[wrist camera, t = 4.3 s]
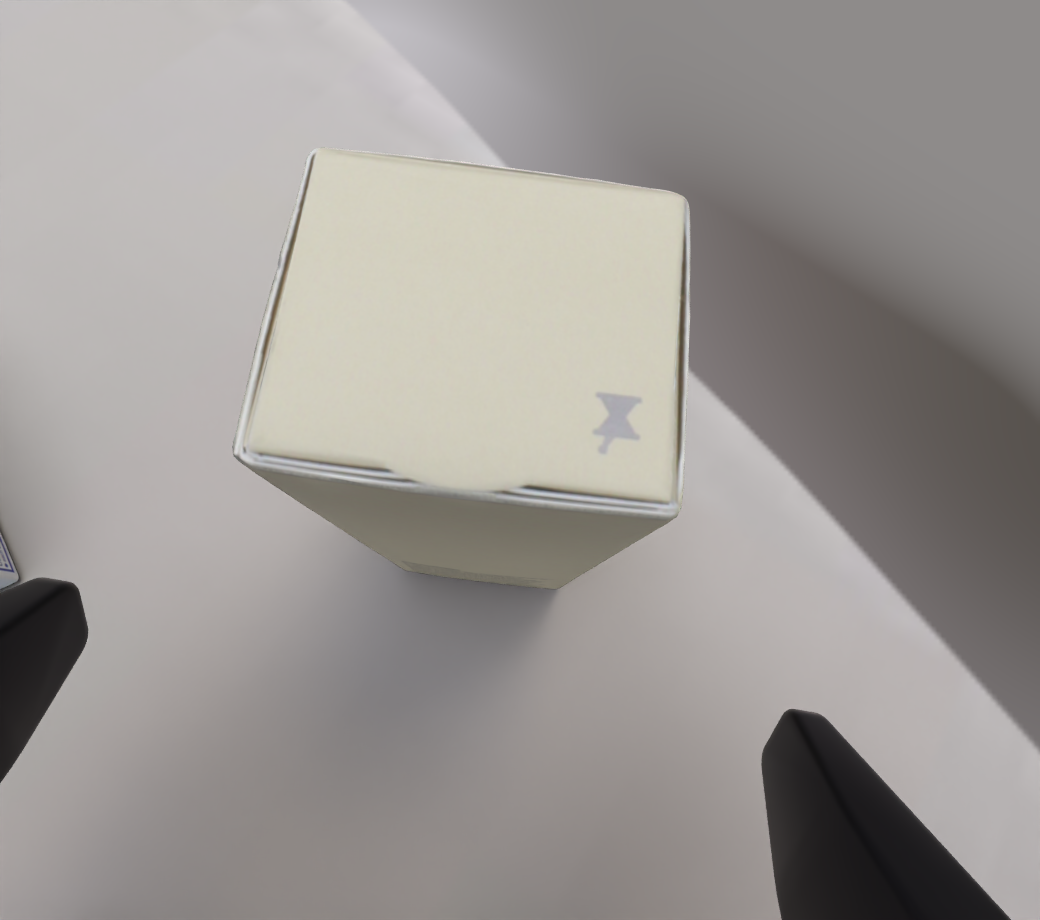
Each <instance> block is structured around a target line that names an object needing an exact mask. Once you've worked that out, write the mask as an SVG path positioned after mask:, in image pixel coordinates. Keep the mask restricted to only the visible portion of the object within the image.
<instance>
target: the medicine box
mask: <svg viewBox="0 0 1040 920" xmlns="http://www.w3.org/2000/svg"><path fill="white" fill-rule="evenodd" d="M17 580H18V573H17V571H16V569H15V566H14V564H13V561H12V559H11V557H10V554H9V552H8V549H7V547H6V544H5V542H4V540H3V537H2V535H1V532H0V589H2V588H4V587H6V586H8V585H10V584H12V583H14V582H16V581H17Z"/></svg>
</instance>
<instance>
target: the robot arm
mask: <svg viewBox="0 0 1040 920" xmlns="http://www.w3.org/2000/svg"><path fill="white" fill-rule="evenodd" d="M87 638H88V626H87V622H86V617H85V613H84V609H83V605H82V600H81V596H80V592H79V589H78V588H77V587H76V585H75V584H74V583H71V582H67V581H62V580H56V579H50V578H36V579H33V580H30V581H27V582H25V583H23V584H20V585H18V586H16V587H13V588H11V589H9V590H6V591H4V592H2V593H0V783H1V781H2V780H3V779H4V777H5V776H6V774H7V773H8V772H9V770H10V769H11V767H12V766H13V764H14V763H15V761H16V760H17V758H18V757H19V755H20V753H21V752H22V750H23V749H24V747H25V746H26V744H27V742H28V741H29V739H30V737H31V736H32V734H33V732H34V731H35V729H36V727H37V726H38V724H39V722H40V721H41V719H42V717H43V716H44V714H45V713H46V711H47V709H48V708H49V706H50V704H51V703H52V701H53V699H54V698H55V696H56V694H57V693H58V691H59V689H60V688H61V686H62V684H63V683H64V681H65V679H66V678H67V676H68V674H69V673H70V671H71V669H72V668H73V666H74V664H75V663H76V661H77V659H78V658H79V656H80V654H81V653H82V651H83V649H84V647H85V644H86V642H87ZM762 775H763V784H764V792H765V801H766V809H767V818H768V827H769V835H770V844H771V853H772V861H773V870H774V877H775V884H776V891H777V897H778V903H779V908H780V913H781V918H782V920H1011V919H1010V918H1009V917H1008V916H1007V915H1006V914H1005V913H1004V911H1003V910H1002V909H1001V908H1000V907H999V906H998V905H997V904H996V903H995V902H994V901H993V900H992V898H991V897H990V896H989V895H988V894H987V893H986V892H985V891H984V890H983V889H982V888H981V886H980V885H979V884H978V883H977V882H976V881H975V880H974V879H973V878H972V877H971V876H970V874H969V873H968V872H967V871H966V870H965V869H964V868H963V867H962V866H961V865H960V864H959V863H958V861H957V860H956V859H955V858H954V857H953V856H952V855H951V854H950V853H949V852H948V851H947V849H946V848H945V847H944V846H943V845H942V844H941V843H940V842H939V841H938V840H937V839H936V837H935V836H934V835H933V834H932V833H931V832H930V831H929V830H928V829H927V828H926V827H925V826H924V824H923V823H922V822H921V821H920V820H919V819H918V818H917V817H916V816H915V815H914V814H913V812H912V811H911V810H910V809H909V808H908V807H907V806H906V805H905V804H904V803H903V802H902V801H901V799H900V798H899V797H898V796H897V795H896V794H895V793H894V792H893V791H892V790H891V789H890V787H889V786H888V785H887V784H886V783H885V782H884V781H883V780H882V779H881V778H880V777H879V775H878V774H877V773H876V772H875V771H874V770H873V769H872V768H871V767H870V766H869V765H868V764H867V762H866V761H865V760H864V759H863V758H862V757H861V756H860V755H859V754H858V753H857V752H856V750H855V749H854V748H853V747H852V746H851V745H850V744H849V743H848V742H847V741H846V740H845V739H844V737H843V736H842V735H841V734H840V733H839V732H838V731H837V730H836V729H835V728H834V727H833V725H832V724H831V723H830V722H829V721H828V720H827V719H826V718H825V717H823V716H822V715H820V714H818V713H814V712H808V711H802V710H796V709H789V710H787V711H786V712H784V714H783V715H782V717H781V719H780V720H779V722H778V724H777V726H776V727H775V729H774V731H773V733H772V734H771V736H770V738H769V740H768V742H767V743H766V745H765V747H764V750H763V753H762Z"/></svg>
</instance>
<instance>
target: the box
mask: <svg viewBox="0 0 1040 920" xmlns="http://www.w3.org/2000/svg"><path fill="white" fill-rule="evenodd" d="M689 211H690V210H689V205H688V202H687V200H686V199H685V198H684V197H683V196H682V195H679V194H677V193H674V192H670V191H666V190H659V189H651V188H644V187H637V186H631V185H624V184H618V183H613V182H607V181H601V180H595V179H586V178H577V177H571V176H565V175H558V174H550V173H542V172H535V171H527V170H520V169H513V168H506V167H498V166H491V165H484V164H476V163H469V162H461V161H452V160H439V159H432V158H426V157H419V156H408V155H396V154H386V153H376V152H365V151H355V150H345V149H336V148H323V147H322V148H318V149H315V150H312V151H311V153H310V154H309V155H308V157H307V160H306V164H305V168H304V172H303V176H302V180H301V184H300V187H299V191H298V196H297V200H296V203H295V207H294V210H293V213H292V217H291V220H290V223H289V227H288V230H287V233H286V236H285V240H284V243H283V246H282V249H281V252H280V257H279V264H278V269H277V272H276V275H275V278H274V280H273V284H272V287H271V291H270V294H269V298H268V302H267V305H266V309H265V313H264V316H263V320H262V324H261V328H260V333H259V337H258V340H257V344H256V348H255V352H254V357H253V361H252V366H251V370H250V374H249V378H248V383H247V387H246V391H245V395H244V399H243V403H242V408H241V412H240V417H239V421H238V426H237V430H236V434H235V438H234V442H233V446H232V447H233V454H234V457H235V458H236V459H237V460H238V461H239V462H241V463H242V464H243V465H245V466H246V467H248V468H249V469H251V470H252V471H253V472H255V473H256V474H258V475H259V476H261V477H262V478H264V479H265V480H267V481H268V482H270V483H271V484H273V485H274V486H276V487H277V488H279V489H280V490H282V491H283V492H285V493H286V494H288V495H289V496H291V497H292V498H294V499H295V500H297V501H298V502H300V503H301V504H303V505H304V506H306V507H307V508H309V509H310V510H312V511H314V512H315V513H317V514H318V515H320V516H322V517H323V518H325V519H326V520H328V521H329V522H331V523H332V524H334V525H335V526H337V527H339V528H340V529H342V530H343V531H345V532H346V533H348V534H349V535H351V536H352V537H354V538H355V539H357V540H358V541H360V542H361V543H363V544H364V545H366V546H368V547H369V548H371V549H373V550H374V551H376V552H377V553H379V554H380V555H382V556H384V557H385V558H387V559H388V560H390V561H391V562H393V563H394V564H396V565H397V566H399V567H400V568H402V569H403V570H406V571H412V572H417V573H423V574H430V575H436V576H442V577H450V578H458V579H465V580H473V581H482V582H490V583H499V584H508V585H517V586H527V587H536V588H547V589H558V588H561V587H562V586H564V585H565V584H567V583H569V582H570V581H572V580H573V579H575V578H576V577H578V576H580V575H581V574H583V573H585V572H587V571H588V570H590V569H592V568H593V567H595V566H597V565H598V564H600V563H601V562H603V561H605V560H607V559H608V558H610V557H612V556H614V555H615V554H617V553H618V552H620V551H622V550H623V549H625V548H627V547H629V546H630V545H631V544H633V543H635V542H637V541H638V540H640V539H642V538H643V537H645V536H647V535H648V534H650V533H652V532H653V531H655V530H657V529H658V528H660V527H662V526H664V525H665V524H667V523H668V522H670V521H671V520H673V519H674V518H676V517H677V515H678V513H679V511H680V509H681V504H682V496H683V489H684V459H685V436H686V412H687V392H688V354H689V327H690V212H689Z"/></svg>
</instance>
